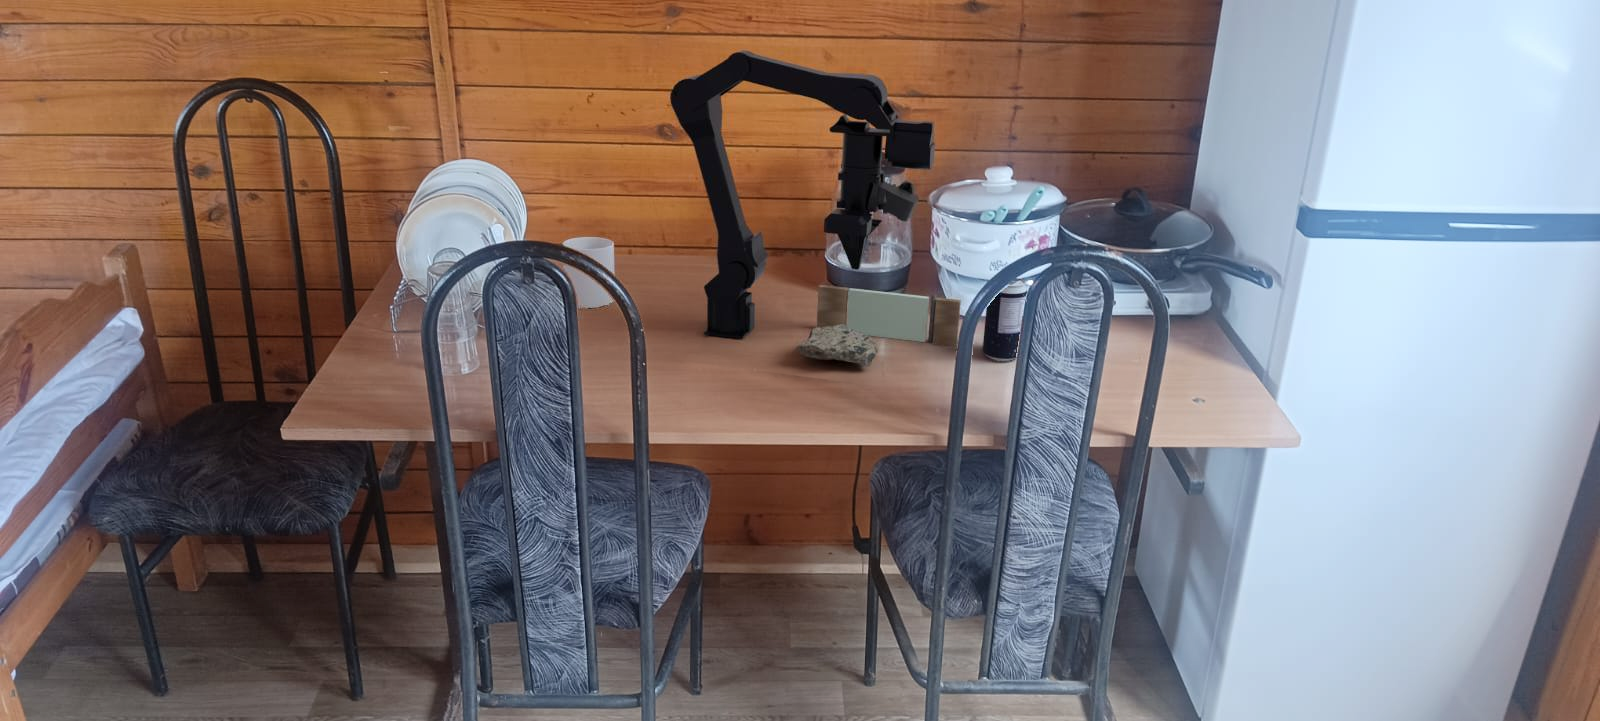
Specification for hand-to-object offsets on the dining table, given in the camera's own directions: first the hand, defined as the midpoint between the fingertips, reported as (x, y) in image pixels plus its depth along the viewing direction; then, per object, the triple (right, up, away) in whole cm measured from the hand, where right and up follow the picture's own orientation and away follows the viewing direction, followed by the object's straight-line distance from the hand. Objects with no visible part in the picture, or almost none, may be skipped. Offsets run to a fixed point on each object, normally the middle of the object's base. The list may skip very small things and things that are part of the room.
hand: (855, 268), depth 172 cm
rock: (+1, -16, -5) cm, 16 cm away
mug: (-43, -4, +21) cm, 48 cm away
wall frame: (+5, -10, +7) cm, 13 cm away
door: (+5, -10, +7) cm, 13 cm away
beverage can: (+22, -14, +1) cm, 26 cm away
